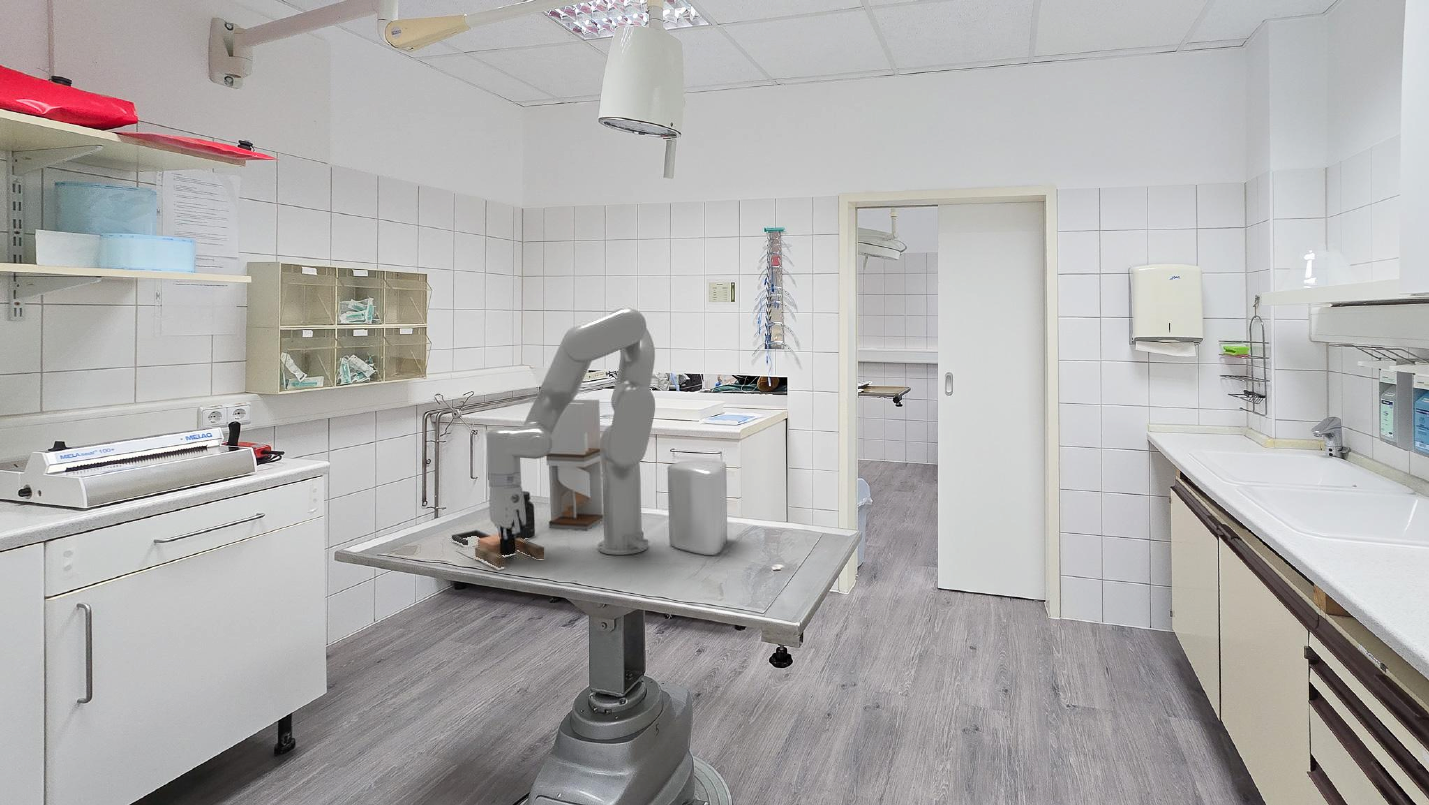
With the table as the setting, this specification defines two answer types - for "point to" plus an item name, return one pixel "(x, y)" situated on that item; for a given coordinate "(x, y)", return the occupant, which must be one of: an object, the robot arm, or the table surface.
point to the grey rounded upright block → (698, 506)
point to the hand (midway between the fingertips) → (508, 553)
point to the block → (491, 543)
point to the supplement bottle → (527, 519)
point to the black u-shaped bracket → (468, 534)
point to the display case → (576, 468)
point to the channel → (520, 544)
